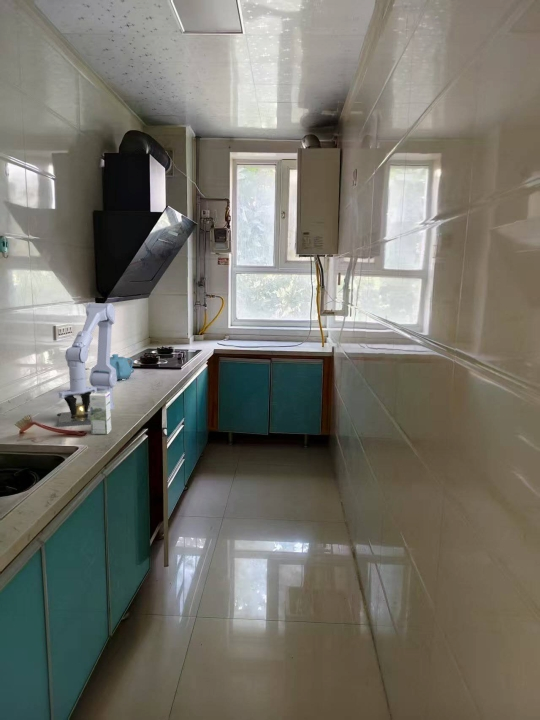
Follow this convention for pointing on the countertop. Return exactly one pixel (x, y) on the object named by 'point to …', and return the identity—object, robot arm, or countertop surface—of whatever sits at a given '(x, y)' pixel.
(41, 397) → the countertop surface
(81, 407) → the hub peg
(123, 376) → the decorative pot
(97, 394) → the syrup box
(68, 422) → the steel plate
